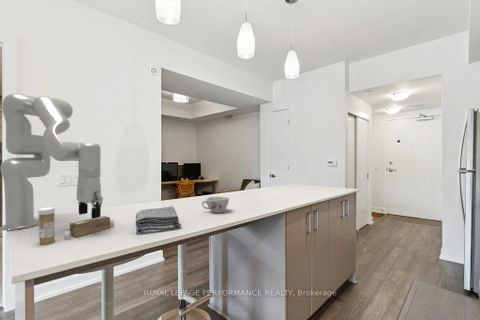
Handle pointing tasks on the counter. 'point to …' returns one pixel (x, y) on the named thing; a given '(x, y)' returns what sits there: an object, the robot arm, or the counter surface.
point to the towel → (156, 220)
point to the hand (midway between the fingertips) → (89, 215)
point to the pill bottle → (46, 225)
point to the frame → (89, 226)
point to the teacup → (216, 204)
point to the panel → (67, 235)
